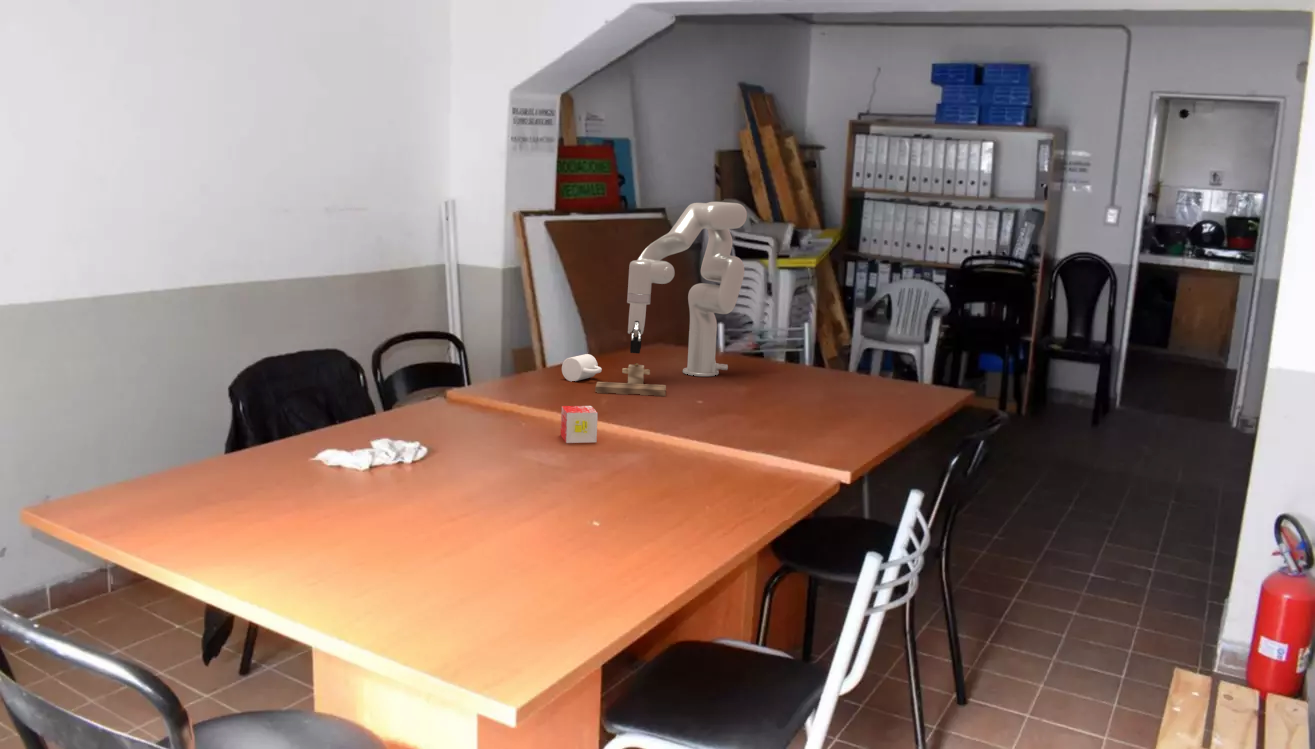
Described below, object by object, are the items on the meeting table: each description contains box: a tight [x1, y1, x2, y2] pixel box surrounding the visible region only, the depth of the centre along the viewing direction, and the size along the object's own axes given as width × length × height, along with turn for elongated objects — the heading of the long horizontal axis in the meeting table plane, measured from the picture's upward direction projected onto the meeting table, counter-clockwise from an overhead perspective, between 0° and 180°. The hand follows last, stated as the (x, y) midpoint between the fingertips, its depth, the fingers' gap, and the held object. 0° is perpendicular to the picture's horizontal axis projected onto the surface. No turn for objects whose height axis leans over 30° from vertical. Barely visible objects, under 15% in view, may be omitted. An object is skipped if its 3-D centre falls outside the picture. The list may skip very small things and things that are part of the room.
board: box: [594, 381, 667, 397], centre depth 343 cm, size 22×8×2 cm, turn 89°
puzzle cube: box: [560, 405, 598, 444], centre depth 280 cm, size 8×8×8 cm
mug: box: [561, 353, 603, 382], centre depth 358 cm, size 12×10×8 cm
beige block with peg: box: [621, 362, 651, 384], centre depth 356 cm, size 9×4×7 cm, turn 89°
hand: (635, 350), depth 354 cm, fingers open, 9 cm apart
